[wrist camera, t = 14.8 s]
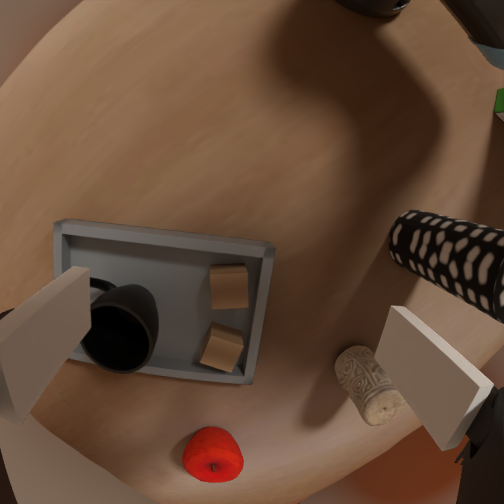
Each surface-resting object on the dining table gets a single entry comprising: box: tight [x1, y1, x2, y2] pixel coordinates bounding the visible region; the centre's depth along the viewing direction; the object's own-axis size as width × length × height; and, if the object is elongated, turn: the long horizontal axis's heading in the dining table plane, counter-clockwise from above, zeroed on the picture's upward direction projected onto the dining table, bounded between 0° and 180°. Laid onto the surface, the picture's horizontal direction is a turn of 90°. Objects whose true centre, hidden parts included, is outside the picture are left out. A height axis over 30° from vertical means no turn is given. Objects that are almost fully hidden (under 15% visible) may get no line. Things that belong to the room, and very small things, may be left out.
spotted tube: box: [389, 210, 504, 324], centre depth 31 cm, size 8×8×20 cm
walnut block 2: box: [200, 321, 244, 372], centre depth 38 cm, size 4×4×4 cm
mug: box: [80, 277, 159, 374], centre depth 33 cm, size 8×12×10 cm
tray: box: [53, 219, 276, 384], centre depth 37 cm, size 18×26×4 cm
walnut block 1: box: [210, 263, 249, 309], centre depth 37 cm, size 4×4×4 cm
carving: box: [334, 345, 405, 426], centre depth 38 cm, size 6×8×12 cm
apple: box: [182, 427, 244, 483], centre depth 41 cm, size 9×9×8 cm
